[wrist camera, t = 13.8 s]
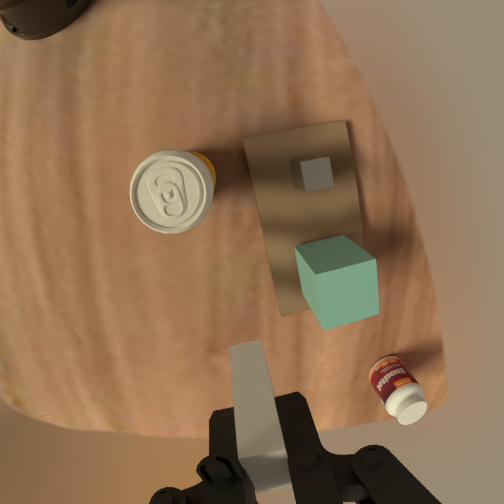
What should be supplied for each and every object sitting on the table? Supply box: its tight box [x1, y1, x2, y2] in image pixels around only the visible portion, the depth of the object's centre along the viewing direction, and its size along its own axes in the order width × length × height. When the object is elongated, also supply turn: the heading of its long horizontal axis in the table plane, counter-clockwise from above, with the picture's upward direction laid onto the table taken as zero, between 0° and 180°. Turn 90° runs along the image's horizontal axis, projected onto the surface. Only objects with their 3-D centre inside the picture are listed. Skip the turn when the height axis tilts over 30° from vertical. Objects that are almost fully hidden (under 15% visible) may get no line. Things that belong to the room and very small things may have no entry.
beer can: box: [130, 149, 216, 234], centre depth 28 cm, size 6×6×15 cm
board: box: [242, 121, 365, 317], centre depth 37 cm, size 22×12×1 cm, turn 12°
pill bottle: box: [369, 356, 427, 425], centre depth 41 cm, size 6×6×11 cm
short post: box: [289, 156, 334, 192], centre depth 33 cm, size 3×3×5 cm
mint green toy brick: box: [294, 235, 379, 330], centre depth 33 cm, size 6×6×9 cm
